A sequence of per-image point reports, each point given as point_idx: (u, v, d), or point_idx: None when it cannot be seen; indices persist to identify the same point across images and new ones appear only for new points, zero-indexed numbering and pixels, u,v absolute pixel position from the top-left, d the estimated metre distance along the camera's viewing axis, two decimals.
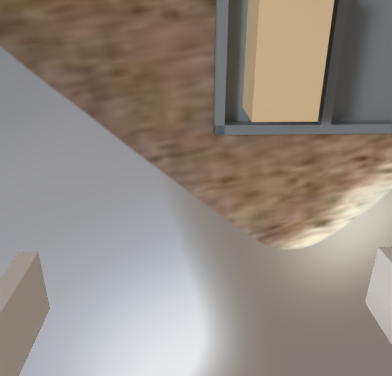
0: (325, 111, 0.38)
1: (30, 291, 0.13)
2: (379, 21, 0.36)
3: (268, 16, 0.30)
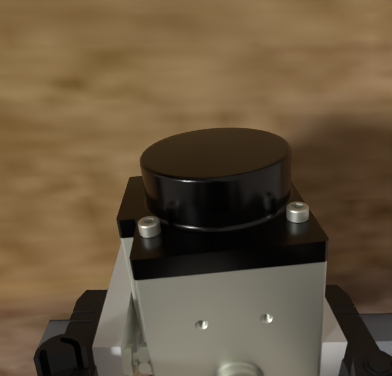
0: None
1: None
2: None
3: None
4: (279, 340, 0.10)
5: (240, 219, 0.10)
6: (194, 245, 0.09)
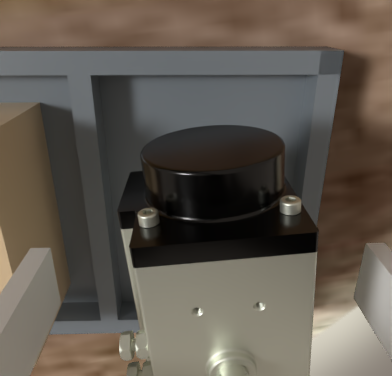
0: (102, 302, 0.22)
1: (43, 285, 0.14)
2: None
3: None
4: (271, 327, 0.10)
5: (235, 211, 0.10)
6: (191, 235, 0.10)
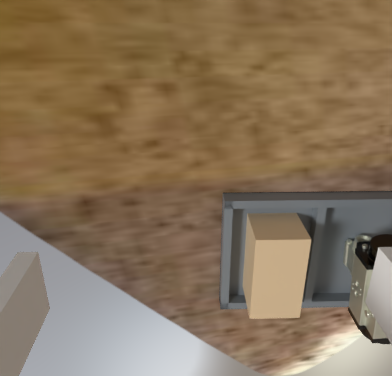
0: (307, 293, 0.49)
1: (30, 291, 0.13)
2: (348, 231, 0.47)
3: (261, 258, 0.41)
4: None
5: None
6: None
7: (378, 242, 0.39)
